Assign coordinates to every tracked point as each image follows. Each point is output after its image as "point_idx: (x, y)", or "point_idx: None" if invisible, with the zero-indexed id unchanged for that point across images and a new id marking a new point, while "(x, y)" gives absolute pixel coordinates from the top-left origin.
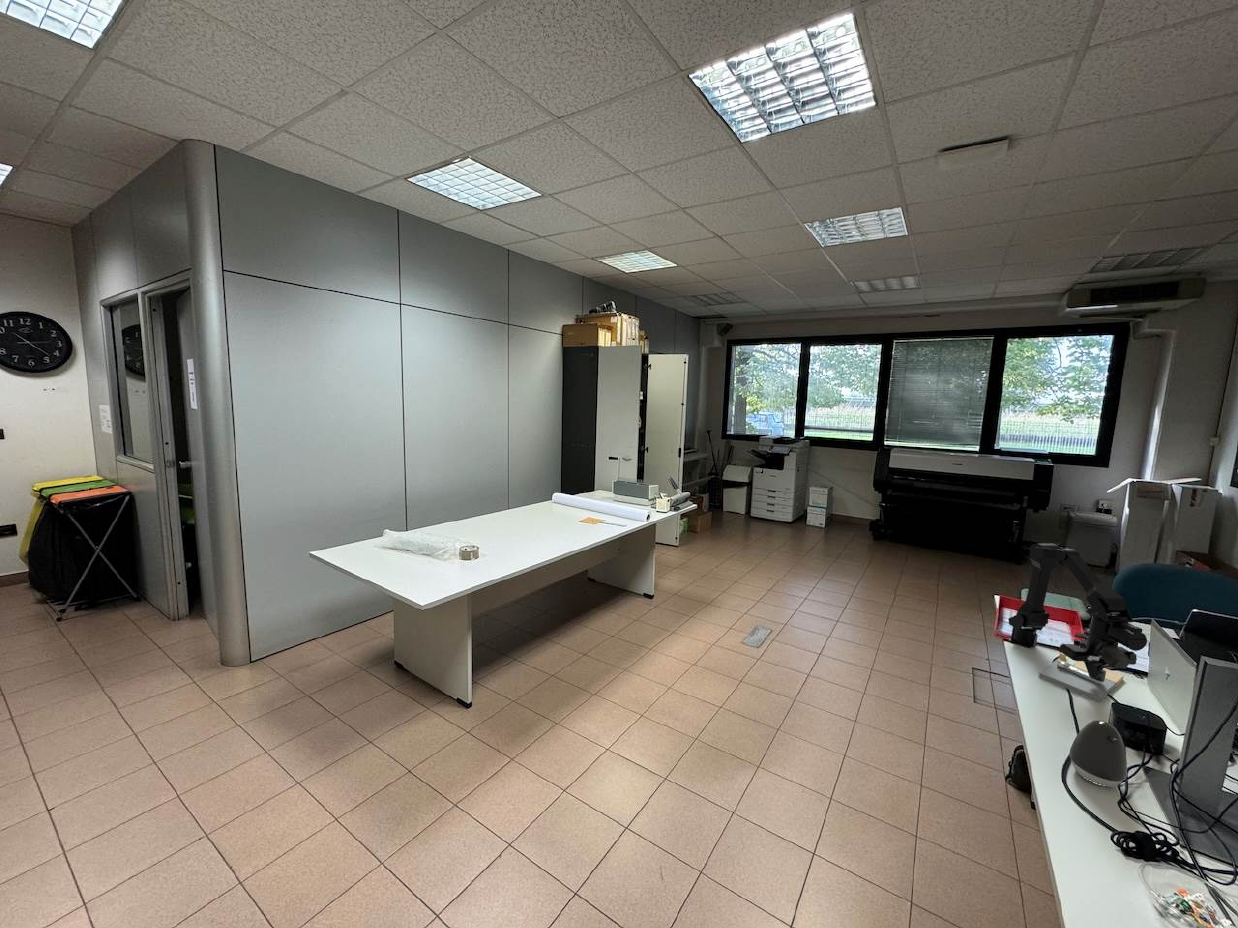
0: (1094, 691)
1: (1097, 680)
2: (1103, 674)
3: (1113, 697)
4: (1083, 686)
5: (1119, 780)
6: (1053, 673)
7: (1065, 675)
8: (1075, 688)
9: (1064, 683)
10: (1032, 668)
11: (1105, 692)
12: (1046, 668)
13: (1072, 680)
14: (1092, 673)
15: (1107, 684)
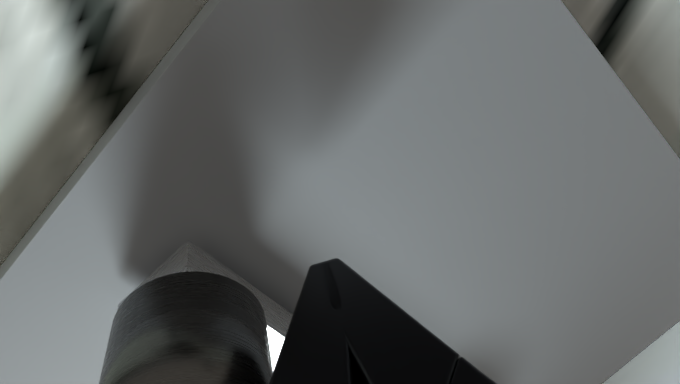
0: (373, 3)
1: (228, 278)
2: (155, 382)
3: (65, 46)
4: (456, 108)
5: None
6: (617, 295)
7: (507, 306)
8: (577, 35)
9: (646, 115)
10: (645, 354)
11: (201, 27)
12: (612, 366)
13: (500, 222)
14: (403, 312)
15: (61, 295)
